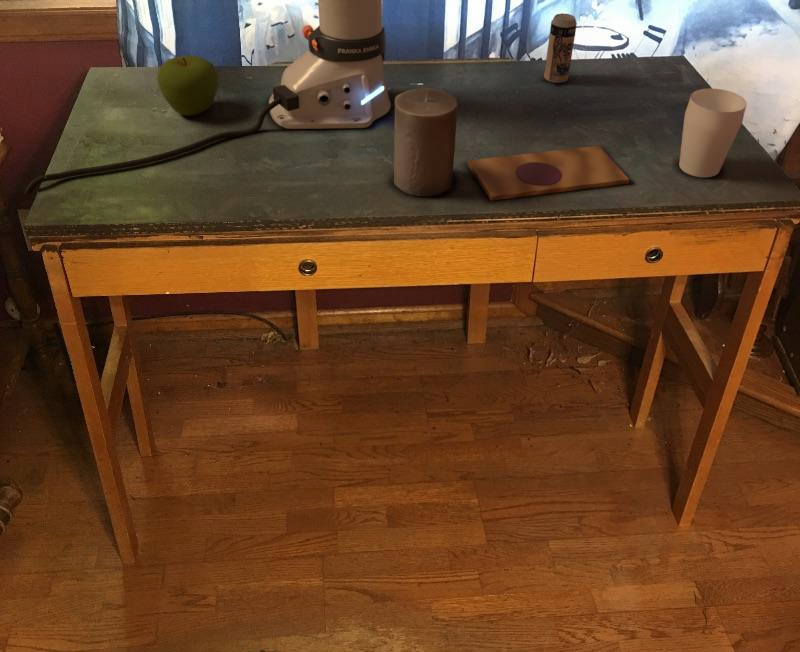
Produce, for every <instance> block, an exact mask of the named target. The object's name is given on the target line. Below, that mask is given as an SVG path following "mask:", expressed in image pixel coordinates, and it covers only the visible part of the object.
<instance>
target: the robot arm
mask: <svg viewBox="0 0 800 652" xmlns="http://www.w3.org/2000/svg"><path fill="white" fill-rule="evenodd" d="M383 3H384V2H383V0H317V5H318V6H317V7H318V26H317V27H316V28H315V29H314V28H313V27H312V25H310V24H306V25H304V26H303V27H302V30H301V32H302V35H303V37H304V38H305V40H307V42H308V50H307V51H305V52H304V53H303V54H302V55H300V56H299V57H298V58H297V59H295V60H294V61H293V62H292V63H291V64H290V65H288V66H287V67H285V69H284V71H283V72H282V75H281V79H280V85H277V86H274V87H272V94H271V96H270V97H269V100H268V104H267V105H266V106H265V107H264V108H263V109H262V110H261V112H260V113H259V114H258V118H257V122H256V123H255V125H253V126H252V127H250V128H248V129H244V130H233V131H231V130H230V131H224V132H219V133H217V134H214V135H211V136H209V137H206V138H204V139H201V140H199V141H196V142H194V143H191V144H188V145H185V146H182V147H179V148H176V149H173V150H168V151H165V152H163V153H158V154H154V155H151V156H146V157H142V158H137V159H132V160H126V161H121V162H115V163H109V164H104V165H98V166H89V167H82V168H76V169H70V170H66V171H62V172H56V173H48V174H42V175H40V176H37V177H36V178H34V179H33V180H31V181H30V183H28V185H27V186H26V188H25V190H24V192H23V194H25V195H28V194H31V193H32V192H33V191H34V190H35V188H36V187H37V186H39V185H40V184H42V183H45V182H51V181H59V180H63V179H67V178H71V177H72V178H73V177H76V176H83V175H90V174H97V173H98V174H99V173H105V172H109V171H111V172H112V171H116V170H121V169H126V168H133V167H138V166H142V165H146V164H150V163H151V164H152V163H155V162H159V161H163V160H166V159H169V158H173V157H177V156H180V155H183V154H186V153H189V152H191V151H194V150H197V149H199V148H202V147H205V146H207V145H210V144H211V143H214V142H217V141H219V140H220V141H221V140H223V139H228V138H229V139H230V138H239V137H245V136H249V135H253V134H255V133H257V132H258V131H259V130H260V129H261V128H262V127H263V125H264V121H265V118H266V116H267V115H268V114H270V116H271V118H272V120H273V121H274V122H275V123H276V124H277V125H278V126H280V127H282V128H284V129H287V130H306V129H307V130H308V129H309V130H311V129H312V130H314V129H317V130H318V129H365V128H368V127H370V126H371V125H372V124H373V122H374V121H376V120H377V119H380V118H381V117H384V116H385V115H387V113H389V111H390V109H391V107H392V103H391V100H390V97H389V92H388V87H387V83H386V82H387V81H386V74H385V65H384V62H385V58H386V56H385V55H386V45H387V44H386V43H387V41H386V39H387V38H386V30H385V27H384V26H383ZM45 177H46V178H45ZM51 325H52V326H51V327H52V328H53V331H54V334H55V337H56V339H57V342H58V346H59V348H60V351H61V353H62V356H63V359H64V362H65V365H66V368H67V371H68V375H69V379H70V382H71V384H72V385H76V384H77V383H76V381H75V378H74V374H73V369H74V368H73V369H72V366H73V364H72V365H71V363H72V360H71V361H70V359H71V357H70V358H69V356H70V354H69V355H68V353H69V352H68V351H67V350H68V348H67V345H66V341H65V339H64V336H63V333H62V331H61V328H60V324H59V323H58V322H53V323H51Z"/></svg>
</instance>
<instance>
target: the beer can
mask: <svg viewBox="0 0 800 652" xmlns="http://www.w3.org/2000/svg"><path fill="white" fill-rule="evenodd" d="M577 25H578V22H577V20H576V17H575V15H572V14H570V13H556V14H555V15H554V17H553V18H552V19H551V22H550V28H549V29H550V30H549V36H548V43H547V51H546V58H545V66H544V73H543V77H544V79H545V80H546V81H547V82H549V83H552V84H562V83H565V82H567V81H568V80H569V75H570V70H571V63H572V56H573V50H574V44H575V38H576V32H577Z"/></svg>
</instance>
